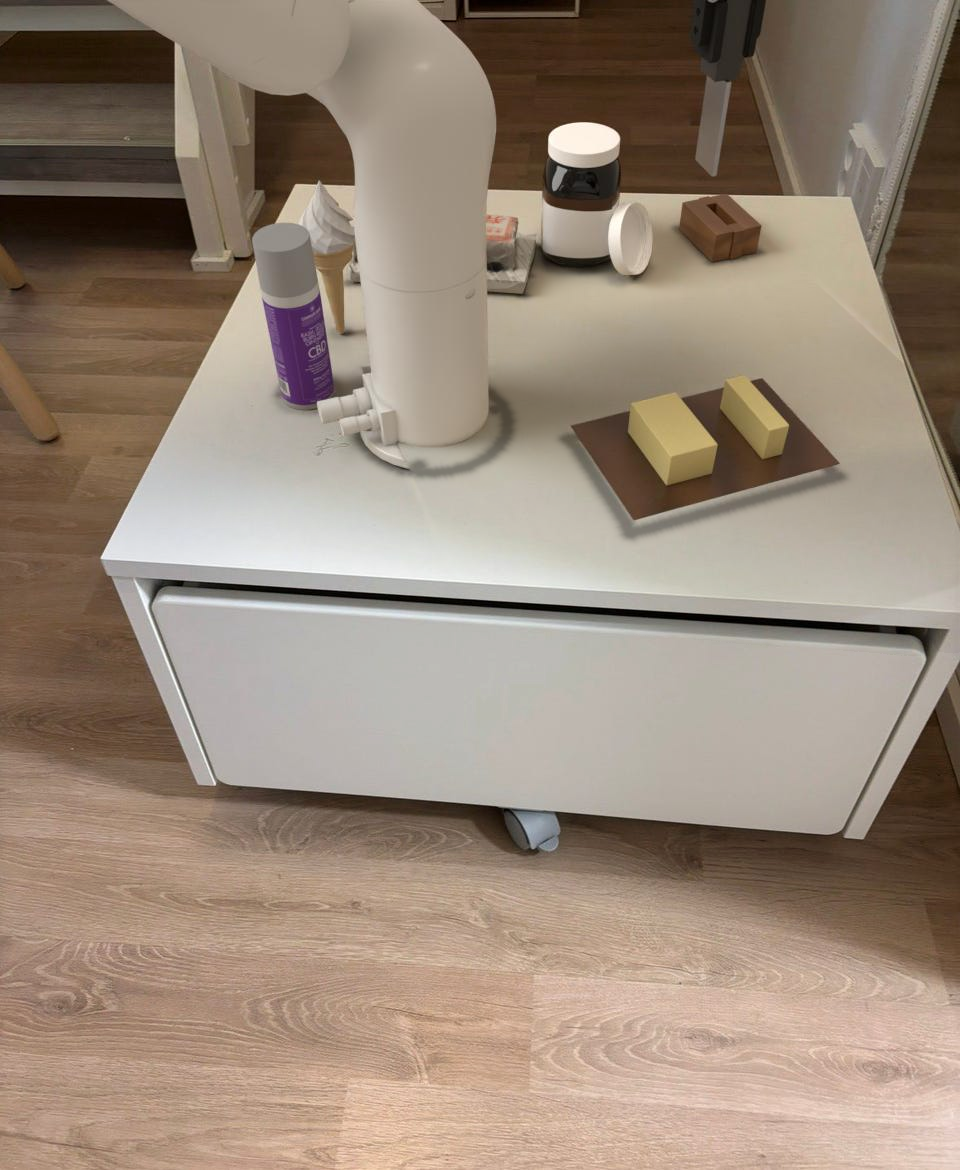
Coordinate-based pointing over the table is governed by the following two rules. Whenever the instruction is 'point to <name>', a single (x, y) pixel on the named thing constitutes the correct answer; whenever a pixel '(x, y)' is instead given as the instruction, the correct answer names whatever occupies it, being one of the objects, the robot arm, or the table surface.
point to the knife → (721, 84)
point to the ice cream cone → (330, 246)
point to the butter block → (672, 438)
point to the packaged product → (495, 255)
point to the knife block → (719, 227)
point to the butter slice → (754, 417)
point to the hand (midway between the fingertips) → (722, 51)
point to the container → (294, 314)
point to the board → (731, 466)
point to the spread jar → (590, 203)
